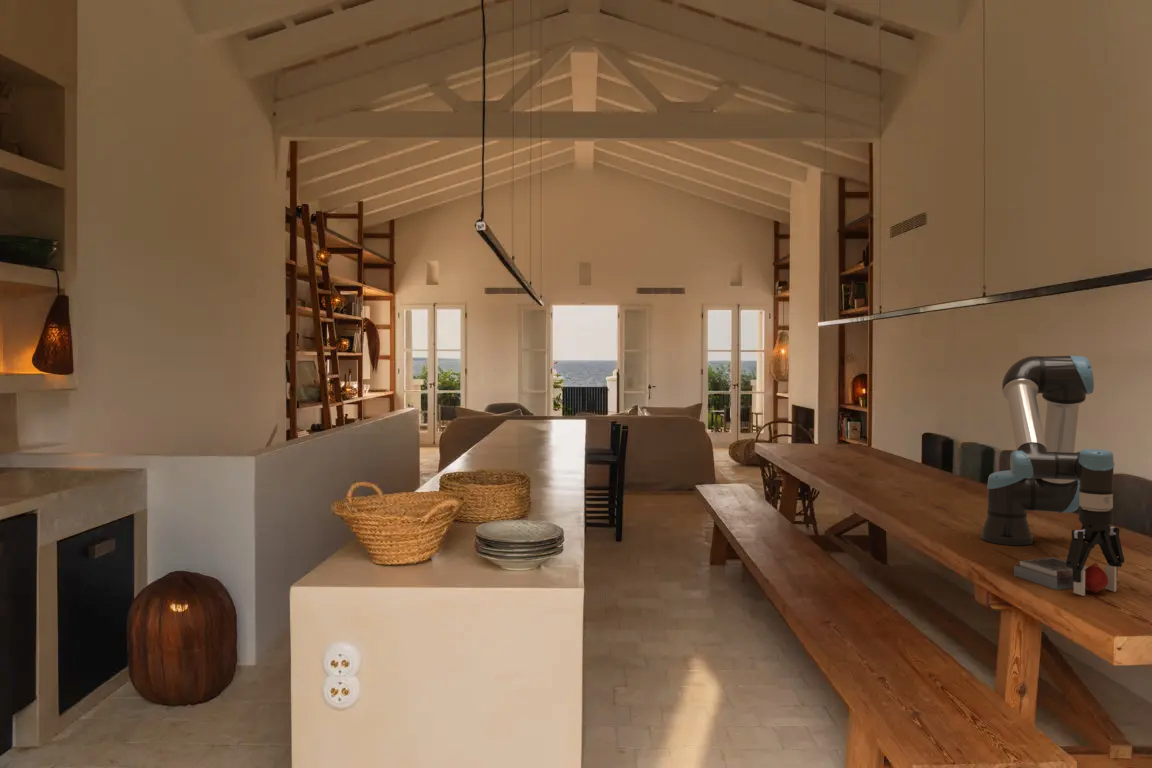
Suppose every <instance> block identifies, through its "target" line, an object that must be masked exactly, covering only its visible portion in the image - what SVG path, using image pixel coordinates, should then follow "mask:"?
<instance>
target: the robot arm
mask: <svg viewBox="0 0 1152 768" xmlns="http://www.w3.org/2000/svg"><path fill="white" fill-rule="evenodd" d="M1094 381H1095V379H1094V373H1093V367H1092V364H1091V362H1090V360H1089V359H1088V358H1087V357H1086V356H1081V355H1047V356H1046V355H1043V356H1042V355H1041V356H1039V355H1032V356H1027V357H1023V358H1021V359H1019V360H1018V361H1016V362H1014V364H1012V365H1011V366H1010V367H1009V369H1008V370H1007V371H1006V373H1005V375H1004V377H1003V380H1002V384H1001V385H1002V386H1001V387H1002V388H1001V389H1002V394H1003V397H1004V398H1005V399H1006V400H1007V403H1008V408H1009V413H1010V419H1011V426H1012V427H1011V428H1012V432H1013V437H1014V442H1015V443H1014V445H1015V450H1014V451H1012V452H1011V453H1010V458H1009V466H1010V469H1008V470H1000V471H995V472H992V473H990V474H989V476H988V479H987V485H986V488H987V489H986V490H987V508H986V509H987V515H986V520H985V522H984V525H983V528H982V529H981V532H980V533H981V539H982V540H984V542H985V541H986V542H989V543H993V544H996V545H997V544H998V545H1005V546H1027V545H1028V546H1029V545H1032V544H1033V541H1034V539H1033V536H1034V535H1033V534H1032V533H1031V528H1030V524H1029V522H1028V516H1027V515H1028V511H1029V512H1030V511H1031V512H1033V511H1034V512H1046V513H1047V512H1050V513H1058V514H1063V513H1073V512H1076V511H1078V521H1079V522H1080V523H1081V529H1078V530H1076V529H1072V530H1071V540H1070V545H1069V549H1068V554H1067V557H1066V560H1065V561H1066V566H1067V567H1069V568H1072V570H1073V581H1074V588H1073V594H1075V595H1079V596H1084V597H1085V596H1086V587H1085V571H1084V570H1082V569H1083V567H1084V566H1086V563H1087V561H1088V558H1089V556H1090V553H1091V551H1092V549H1094V548H1095V546H1096V545H1098V546H1099V548H1100V550H1101V551H1102V554H1103V556H1104V558H1105V561H1106V563H1107V564H1104V572H1105V573H1106V575H1107V577H1108V584H1107V585H1106V587H1105V588H1104V589H1105V590H1108V591H1111V592H1117V578H1118V568H1121V567H1122V566H1123V564H1124V563H1125V558H1124V557H1125V555H1124V553H1123V548H1122V544H1121V543H1122V542H1121V539H1120V527H1116V526H1112V525H1113V522H1114V511H1113V510H1112V509H1113V508H1114V498H1113V497H1114V467H1115V462H1114V453H1113V452H1112V451H1111V450H1108V449H1099V448H1096V449H1095V448H1085V449H1081V450H1080V451H1076V452H1075V450H1076V449H1075V447H1076V440H1077V439H1076V438H1077V429H1078V428H1077V427H1078V421H1079V419H1078V418H1079V408H1080V405H1081V404H1083V403H1084V402H1086V398H1087V395H1090V394H1093V392H1094V389H1095V382H1094ZM1038 394H1042V396H1041V397H1042V399H1043V400H1044V401H1045V402H1046V414H1045V422H1044V423H1045V424H1044V429H1043V425H1042V419H1041V415H1040V413H1041V412H1040V409H1039V405H1038V398H1037V395H1038ZM1078 564H1079V565H1078Z"/></svg>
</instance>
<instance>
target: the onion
mask: <svg viewBox="0 0 1152 768" xmlns="http://www.w3.org/2000/svg"><path fill="white" fill-rule="evenodd" d="M1087 567H1088V568H1086V569H1085V570H1084V571H1085V588H1086V589H1088V590H1089V591H1090V592H1092V593H1093V594H1097V593H1099V592H1100V591H1103V589H1105V587H1106V585H1107V584H1108V577H1107V575H1106V573H1105V570H1103V568H1101V567H1099V564H1098V563H1097V562H1094V563H1092V565H1089V566H1087Z"/></svg>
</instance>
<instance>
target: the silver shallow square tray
mask: <svg viewBox="0 0 1152 768" xmlns="http://www.w3.org/2000/svg"><path fill="white" fill-rule="evenodd" d="M1066 561H1067V560H1065V559H1061V558H1059V557H1058V558H1057V557H1055V556H1048V557H1042V558H1031V559H1026V560H1025V559H1024V560H1019V564H1015V565H1014V566H1013V576H1014V577H1016V576H1018V577H1017V578H1019V577H1020V578H1019V579H1022V578H1023V579H1022V580H1025V579H1026V581H1028V580H1029V582H1032V583H1034V584H1038V585H1041V586H1043V587H1047V588H1051V589H1053V590H1057V591H1058V590H1066V589H1067V590H1068V589H1074V581H1073V570H1072V568H1069V567H1067V566H1066ZM1078 565H1079V564H1078ZM1088 567H1089V566H1087V565H1084V567H1083V569H1082V570H1085V569H1086V568H1088Z"/></svg>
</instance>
